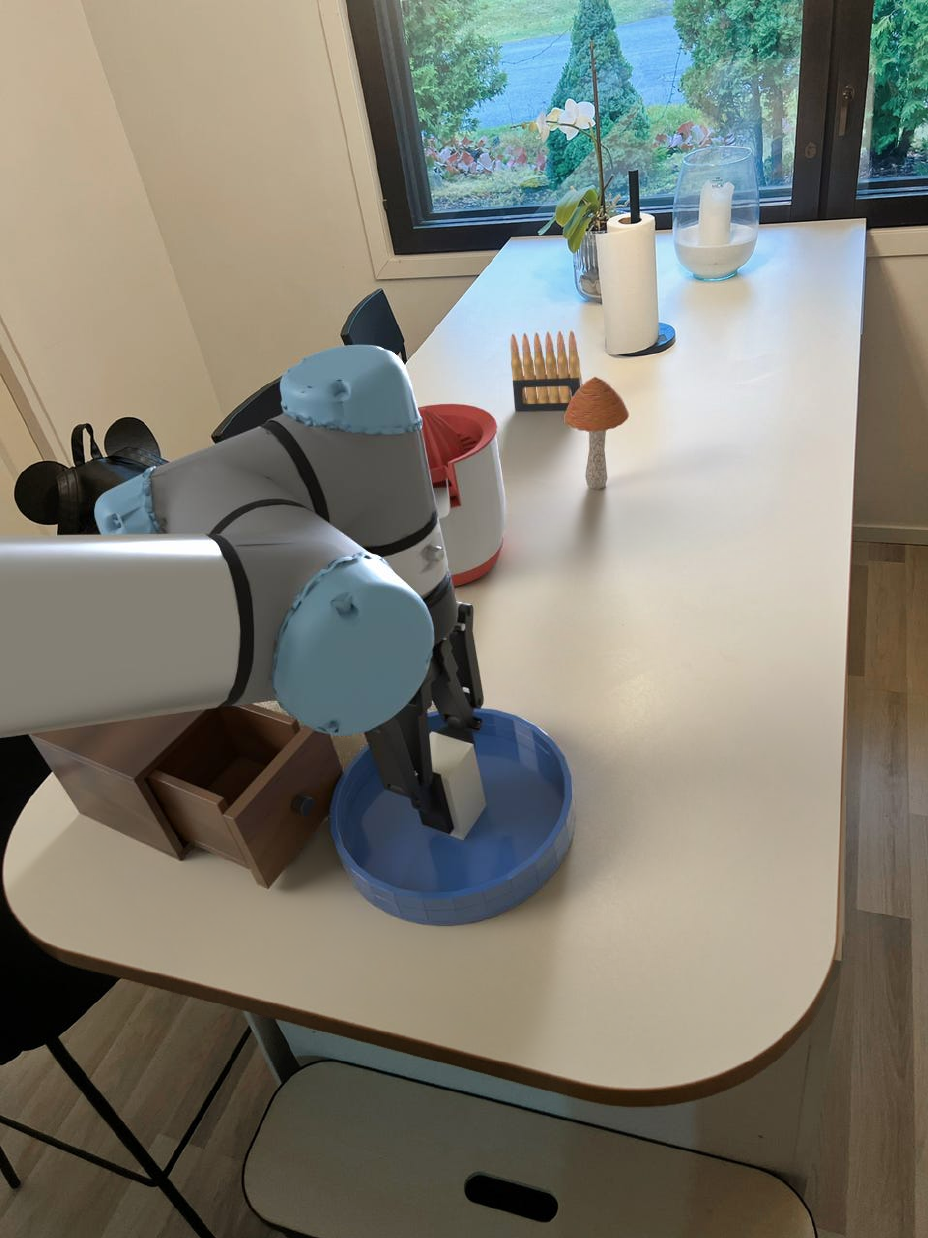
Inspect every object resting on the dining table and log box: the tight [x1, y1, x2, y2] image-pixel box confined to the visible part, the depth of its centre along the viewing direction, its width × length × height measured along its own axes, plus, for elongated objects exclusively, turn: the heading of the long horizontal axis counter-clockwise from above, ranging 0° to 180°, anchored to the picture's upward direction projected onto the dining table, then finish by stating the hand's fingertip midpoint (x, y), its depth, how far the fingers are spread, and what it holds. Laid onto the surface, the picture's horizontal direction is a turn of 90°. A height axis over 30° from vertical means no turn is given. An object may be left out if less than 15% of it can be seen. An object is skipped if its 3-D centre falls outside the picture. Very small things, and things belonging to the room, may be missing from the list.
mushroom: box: [563, 376, 630, 491], centre depth 110 cm, size 8×8×15 cm
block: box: [424, 732, 486, 840], centre depth 72 cm, size 4×4×8 cm
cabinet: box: [28, 708, 216, 861], centre depth 79 cm, size 14×13×11 cm
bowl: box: [329, 707, 576, 927], centre depth 73 cm, size 20×20×4 cm
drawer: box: [144, 703, 344, 890], centre depth 74 cm, size 14×11×9 cm
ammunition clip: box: [510, 330, 583, 413], centre depth 131 cm, size 11×2×12 cm, turn 74°
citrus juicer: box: [417, 403, 507, 587], centre depth 99 cm, size 16×17×20 cm
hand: (452, 805), depth 73 cm, fingers closed on block, 4 cm apart
